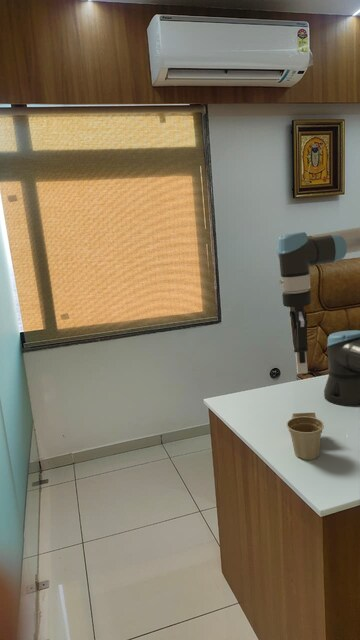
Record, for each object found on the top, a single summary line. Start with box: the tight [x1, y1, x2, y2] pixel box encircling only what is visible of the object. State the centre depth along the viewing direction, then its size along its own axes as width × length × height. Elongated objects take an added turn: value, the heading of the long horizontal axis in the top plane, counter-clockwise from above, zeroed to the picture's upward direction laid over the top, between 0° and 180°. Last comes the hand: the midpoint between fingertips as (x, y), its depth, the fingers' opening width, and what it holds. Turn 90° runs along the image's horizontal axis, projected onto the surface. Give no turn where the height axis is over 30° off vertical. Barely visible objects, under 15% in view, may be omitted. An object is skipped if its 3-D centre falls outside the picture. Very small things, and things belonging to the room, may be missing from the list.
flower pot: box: [286, 416, 325, 461], centre depth 109 cm, size 9×9×9 cm
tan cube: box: [291, 412, 317, 419], centre depth 116 cm, size 6×6×6 cm
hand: (302, 372), depth 117 cm, fingers closed
